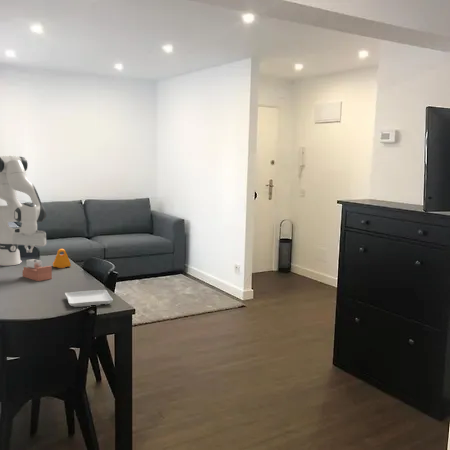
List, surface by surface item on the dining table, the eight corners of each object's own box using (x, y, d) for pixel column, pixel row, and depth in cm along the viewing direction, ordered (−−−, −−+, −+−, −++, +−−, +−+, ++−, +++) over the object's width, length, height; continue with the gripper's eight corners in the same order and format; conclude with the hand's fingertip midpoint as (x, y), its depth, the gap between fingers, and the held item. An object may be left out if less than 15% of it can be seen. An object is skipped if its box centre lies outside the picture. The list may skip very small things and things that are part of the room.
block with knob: (26, 269, 299) (26, 259, 299) (34, 268, 303) (34, 258, 303) (34, 271, 295) (34, 261, 294) (41, 270, 299) (41, 260, 298)
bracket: (69, 265, 336) (69, 247, 335) (70, 267, 330) (70, 249, 328) (52, 265, 332) (52, 248, 331) (53, 268, 326) (53, 250, 324)
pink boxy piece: (22, 276, 299) (22, 264, 298) (36, 274, 306) (36, 262, 305) (38, 281, 289) (38, 268, 288) (51, 278, 297) (51, 266, 296)
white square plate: (69, 309, 238) (69, 302, 238) (64, 298, 258) (64, 291, 257) (113, 306, 247) (113, 299, 246) (105, 295, 266) (105, 289, 266)
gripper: (48, 230, 302) (48, 252, 304) (15, 227, 304) (15, 250, 305) (44, 231, 296) (43, 254, 298) (10, 229, 297) (10, 252, 299)
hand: (29, 252), depth 302 cm, fingers closed
